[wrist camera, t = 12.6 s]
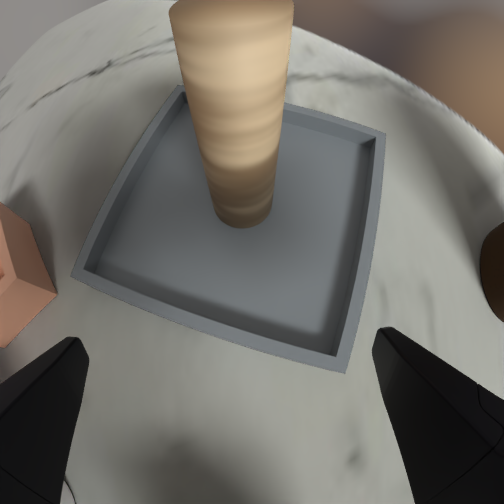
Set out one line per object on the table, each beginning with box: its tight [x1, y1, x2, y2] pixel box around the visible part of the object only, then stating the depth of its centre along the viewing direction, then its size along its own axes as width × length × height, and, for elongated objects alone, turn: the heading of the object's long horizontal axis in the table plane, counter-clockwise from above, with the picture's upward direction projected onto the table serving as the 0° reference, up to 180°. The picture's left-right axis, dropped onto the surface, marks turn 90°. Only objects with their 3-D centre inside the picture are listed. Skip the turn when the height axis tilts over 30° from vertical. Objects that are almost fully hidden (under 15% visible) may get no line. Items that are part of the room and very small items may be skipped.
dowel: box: [169, 0, 294, 229], centre depth 13 cm, size 4×4×14 cm
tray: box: [71, 85, 386, 374], centre depth 20 cm, size 18×18×2 cm
